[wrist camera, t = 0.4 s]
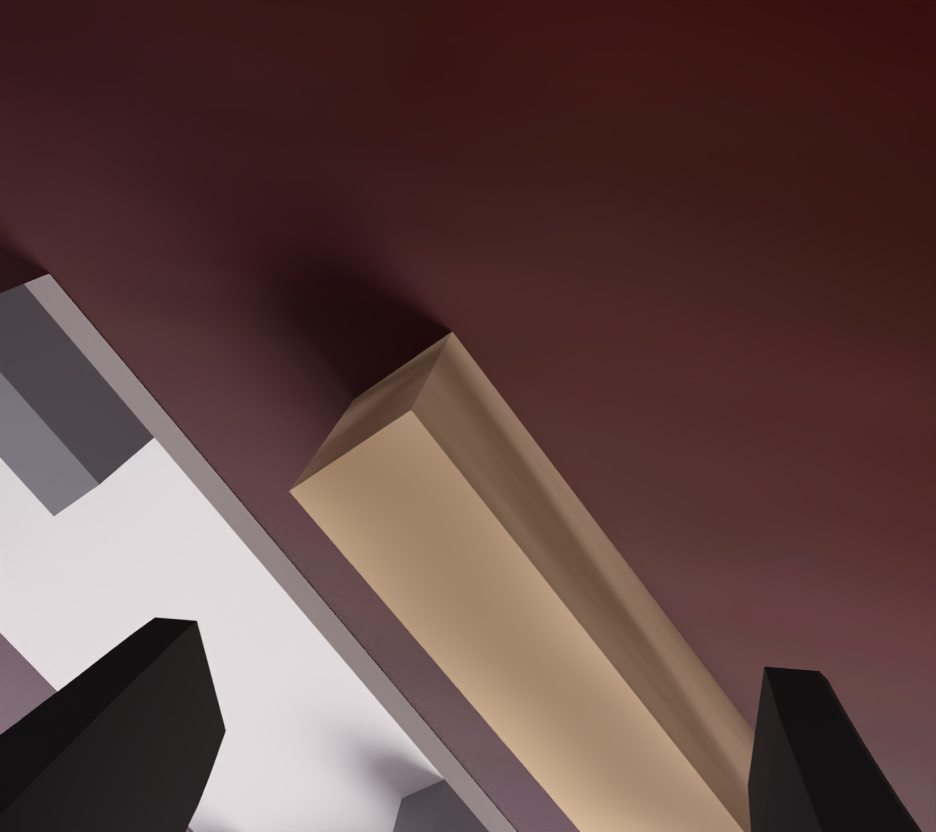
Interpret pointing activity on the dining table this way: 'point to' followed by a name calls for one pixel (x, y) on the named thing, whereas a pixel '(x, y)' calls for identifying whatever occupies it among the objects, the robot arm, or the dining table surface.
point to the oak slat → (527, 602)
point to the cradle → (194, 596)
